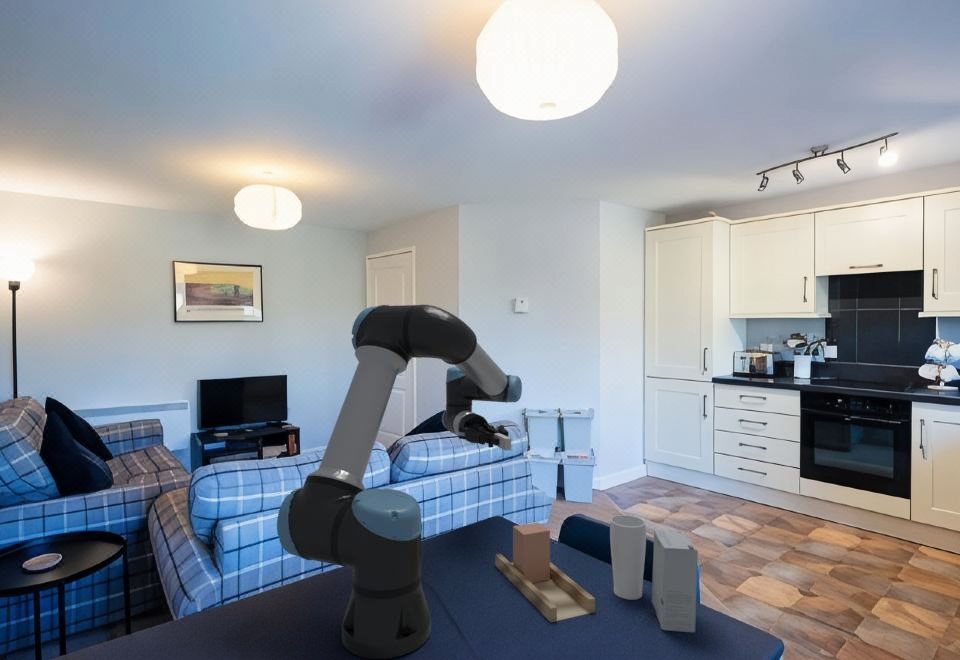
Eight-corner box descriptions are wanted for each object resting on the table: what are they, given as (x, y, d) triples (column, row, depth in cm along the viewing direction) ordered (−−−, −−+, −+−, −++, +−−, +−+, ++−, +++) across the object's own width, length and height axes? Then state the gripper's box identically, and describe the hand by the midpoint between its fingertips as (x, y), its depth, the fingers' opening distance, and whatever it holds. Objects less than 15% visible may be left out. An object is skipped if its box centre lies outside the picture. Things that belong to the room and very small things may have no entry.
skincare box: (651, 606, 97) (651, 528, 97) (684, 608, 96) (683, 529, 96) (662, 632, 88) (662, 546, 89) (698, 634, 88) (698, 547, 88)
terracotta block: (512, 573, 107) (513, 526, 108) (538, 569, 110) (538, 522, 110) (523, 584, 103) (523, 534, 103) (549, 579, 105) (549, 530, 105)
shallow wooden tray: (495, 569, 112) (495, 554, 112) (532, 562, 115) (532, 547, 115) (550, 628, 90) (550, 608, 90) (594, 617, 93) (595, 598, 93)
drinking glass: (611, 604, 98) (611, 525, 98) (608, 587, 104) (608, 513, 104) (648, 608, 96) (648, 528, 96) (643, 590, 103) (643, 515, 103)
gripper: (493, 438, 142) (533, 458, 120) (448, 442, 137) (482, 463, 115) (493, 411, 142) (533, 426, 120) (448, 414, 137) (482, 430, 115)
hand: (508, 444), depth 117 cm, fingers closed
